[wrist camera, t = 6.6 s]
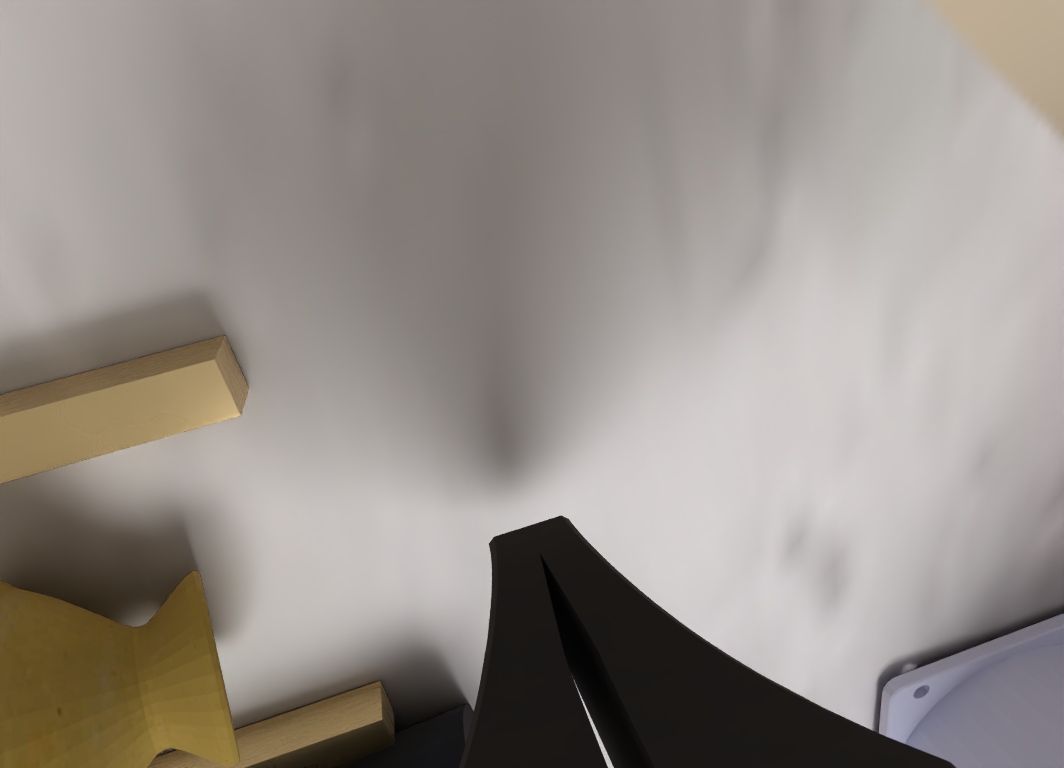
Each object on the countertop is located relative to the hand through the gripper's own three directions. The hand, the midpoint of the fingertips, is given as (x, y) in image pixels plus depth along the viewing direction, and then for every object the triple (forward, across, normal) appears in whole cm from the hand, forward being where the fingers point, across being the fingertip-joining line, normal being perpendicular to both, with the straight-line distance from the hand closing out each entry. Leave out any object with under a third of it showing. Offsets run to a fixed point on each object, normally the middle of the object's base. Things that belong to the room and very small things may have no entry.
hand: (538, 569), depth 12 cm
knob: (+2, +8, 0) cm, 8 cm away
